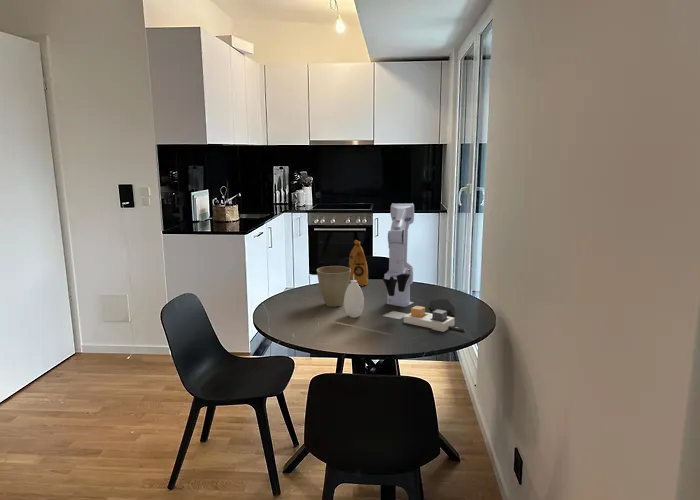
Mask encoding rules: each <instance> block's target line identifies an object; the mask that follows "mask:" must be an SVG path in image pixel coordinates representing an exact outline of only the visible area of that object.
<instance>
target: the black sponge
mask: <svg viewBox="0 0 700 500" xmlns="http://www.w3.org/2000/svg"><path fill="white" fill-rule="evenodd" d="M429 308H430V309H431V310H432V312H433V311H435V310H437V309H438V310H443V311H447V316H448V317H452V316H455V315H456V314H455V313H456V310H455V306H454V305H453V304H452V303H451V302H450V300H449V299H448V298H447V299H444V298H443V299H441V298H440V299H436V300H435V299H434V300H430V301H429Z"/></svg>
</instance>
